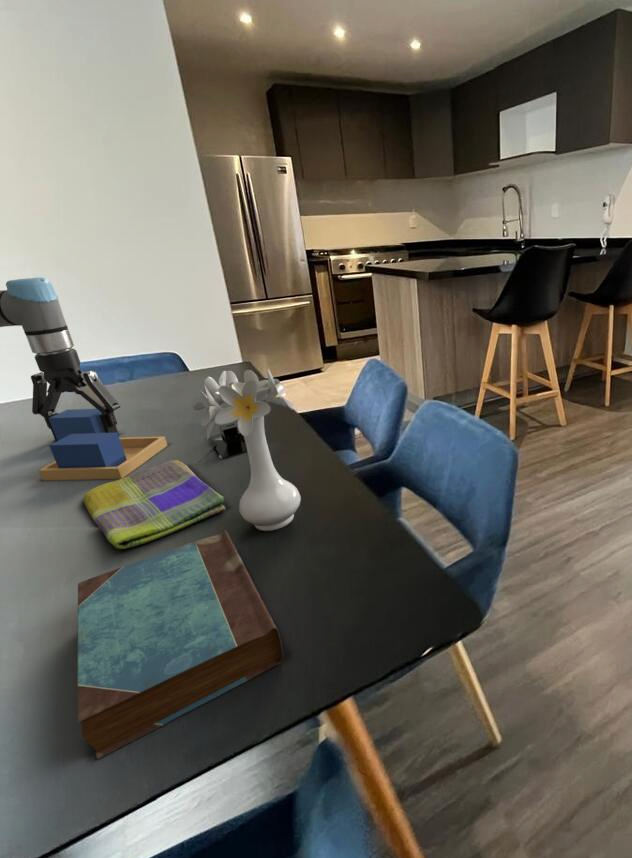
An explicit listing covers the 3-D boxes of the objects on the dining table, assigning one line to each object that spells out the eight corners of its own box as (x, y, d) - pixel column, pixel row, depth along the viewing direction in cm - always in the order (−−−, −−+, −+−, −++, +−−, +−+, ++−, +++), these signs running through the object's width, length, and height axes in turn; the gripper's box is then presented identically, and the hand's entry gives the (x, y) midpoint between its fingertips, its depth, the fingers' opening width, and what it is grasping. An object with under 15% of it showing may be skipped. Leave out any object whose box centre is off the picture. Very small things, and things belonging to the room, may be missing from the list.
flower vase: (279, 486, 90) (250, 353, 80) (336, 522, 78) (309, 370, 68) (207, 517, 81) (164, 372, 72) (257, 563, 69) (214, 396, 60)
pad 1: (59, 446, 114) (48, 418, 111) (77, 436, 119) (67, 409, 117) (99, 444, 113) (89, 416, 111) (116, 435, 118) (106, 408, 116)
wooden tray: (43, 483, 97) (37, 470, 96) (98, 449, 111) (94, 438, 110) (122, 481, 96) (118, 468, 94) (168, 447, 109) (164, 436, 108)
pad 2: (62, 477, 97) (49, 445, 95) (82, 464, 102) (71, 433, 100) (109, 476, 97) (97, 443, 94) (128, 463, 102) (117, 432, 99)
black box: (256, 449, 106) (252, 429, 104) (221, 460, 102) (216, 439, 100) (241, 432, 115) (236, 414, 113) (208, 441, 111) (203, 422, 110)
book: (286, 661, 53) (277, 626, 51) (93, 762, 44) (73, 724, 42) (235, 558, 71) (227, 529, 69) (89, 615, 62) (75, 583, 60)
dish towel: (112, 559, 72) (106, 544, 71) (83, 502, 89) (77, 488, 88) (231, 510, 83) (227, 496, 82) (185, 467, 100) (181, 455, 99)
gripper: (118, 344, 110) (147, 431, 119) (17, 349, 112) (52, 434, 121) (94, 352, 104) (126, 444, 112) (-13, 358, 106) (26, 448, 114)
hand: (88, 439), depth 116 cm, fingers open, 12 cm apart
